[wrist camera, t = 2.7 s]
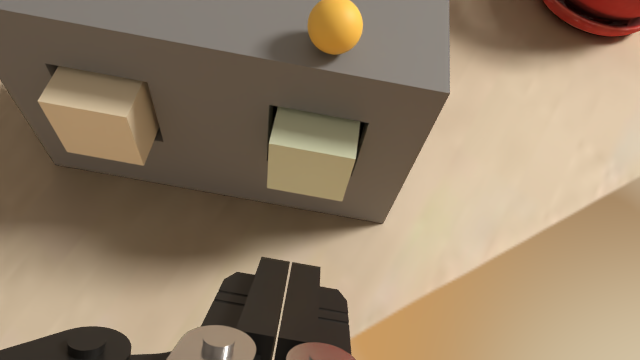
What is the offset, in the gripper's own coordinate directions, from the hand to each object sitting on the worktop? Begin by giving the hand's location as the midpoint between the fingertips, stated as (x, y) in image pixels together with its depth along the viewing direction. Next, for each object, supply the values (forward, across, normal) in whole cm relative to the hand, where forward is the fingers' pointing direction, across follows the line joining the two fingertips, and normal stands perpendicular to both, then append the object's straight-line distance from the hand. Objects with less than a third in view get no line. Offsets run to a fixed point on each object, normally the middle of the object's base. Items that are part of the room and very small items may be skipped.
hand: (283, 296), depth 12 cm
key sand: (+16, +11, 0) cm, 19 cm away
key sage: (+16, 0, 0) cm, 16 cm away
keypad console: (+22, +6, +1) cm, 23 cm away
